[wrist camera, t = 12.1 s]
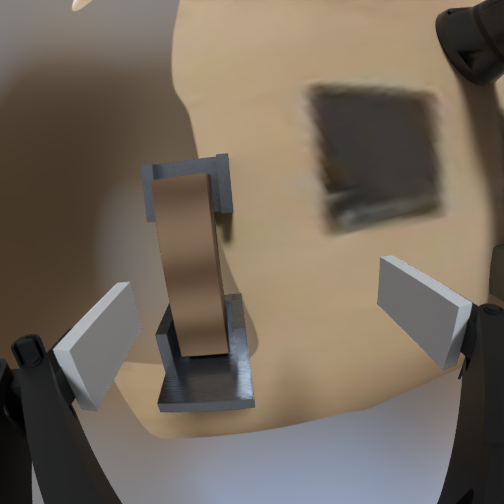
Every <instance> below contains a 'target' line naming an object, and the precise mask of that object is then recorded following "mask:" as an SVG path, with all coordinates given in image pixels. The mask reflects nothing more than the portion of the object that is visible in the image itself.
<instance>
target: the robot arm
mask: <svg viewBox="0 0 504 504" xmlns="http://www.w3.org/2000/svg"><path fill="white" fill-rule="evenodd" d="M436 30H437V34H438V37H439V40H440V42H441V44H442V46H443V48H444V50H445V52H446V54H447V55H448V57H449V58H450V60H451V61H452V63H453V64H454V65H455V67H456V68H457V69H458V70H459V71H460V72H461V73H462V74H463V75H464V76H465V77H466V78H467V79H468V80H470V81H471V82H473V83H475V84H477V85H488V84H491V83H494V82H495V81H497V80H498V79H499V78H500V77H501V76H502V75H503V74H504V0H485V1H483V2H481V3H480V4H478V5H476V6H474V7H463V8H452V9H448V10H445V11H444V12H442V13H441V14H439V15H438V17H437V19H436ZM377 304H378V305H379V306H380V307H381V308H382V309H383V310H384V311H385V312H386V313H387V314H388V315H389V316H390V317H391V318H392V319H393V320H394V321H395V322H396V323H397V324H398V325H399V326H400V327H401V328H402V329H403V330H404V331H405V332H406V333H407V334H408V335H409V336H410V337H411V338H412V339H413V340H414V341H415V342H416V343H417V344H418V345H419V346H420V347H421V348H422V349H423V350H424V351H425V352H426V353H427V354H428V355H429V356H430V357H431V358H432V359H433V360H434V361H435V362H436V363H437V364H438V365H439V366H440V367H441V368H442V369H443V370H444V369H447V368H449V367H452V366H454V365H456V364H457V361H458V358H459V355H460V352H462V353H463V354H464V355H465V360H464V363H463V366H462V369H461V371H460V374H459V377H458V379H460V378H461V376H462V387H461V399H460V407H459V415H458V422H457V428H456V434H455V439H454V444H453V449H452V454H451V458H450V463H449V467H448V471H447V475H446V478H445V482H444V485H443V489H442V492H441V495H440V498H439V501H438V503H437V504H504V309H503V308H501V307H499V306H497V305H494V304H483V305H480V306H477V305H476V304H474V303H472V302H471V301H469V300H468V299H466V298H464V297H463V296H461V295H460V294H457V293H456V292H455V291H453V290H451V289H449V288H447V287H446V286H444V285H442V284H441V283H439V282H437V281H436V280H434V279H432V278H431V277H429V276H427V275H426V274H424V273H422V272H420V271H419V270H417V269H415V268H413V267H412V266H410V265H408V264H406V263H405V262H403V261H401V260H399V259H398V258H396V257H394V256H392V255H391V256H383V257H380V271H379V288H378V301H377ZM141 329H142V328H141V324H140V321H139V317H138V313H137V309H136V305H135V300H134V296H133V292H132V288H131V283H130V282H124V283H123V282H122V283H117V284H116V285H115V286H114V287H113V288H112V289H111V290H110V291H109V292H108V293H107V294H106V295H105V296H104V297H103V298H102V299H101V300H100V301H99V302H98V303H97V304H96V305H95V306H94V307H93V308H92V309H91V310H90V311H89V312H88V313H87V314H86V315H85V316H84V317H83V318H82V319H81V320H80V321H79V322H78V323H77V324H76V325H75V326H74V327H72V328H71V329H69V330H68V331H67V332H66V333H65V334H64V335H63V336H62V337H61V338H60V339H59V340H58V342H56V343H55V345H54V346H53V347H52V348H51V349H50V350H49V351H48V352H47V353H46V351H45V348H44V346H43V343H42V341H41V338H40V337H39V335H36V334H30V335H25V336H23V337H21V338H19V339H17V340H16V341H15V342H14V343H13V344H12V345H11V349H12V352H13V354H14V356H15V358H16V361H17V363H18V365H19V367H20V369H10V368H9V366H8V364H7V362H6V360H5V359H0V504H32V462H33V466H34V470H35V474H36V478H37V481H38V485H39V488H40V491H41V495H42V498H43V501H44V504H122V503H121V501H120V499H119V498H118V496H117V495H116V493H115V491H114V490H113V488H112V486H111V485H110V483H109V481H108V479H107V478H106V476H105V474H104V472H103V470H102V468H101V467H100V465H99V463H98V461H97V459H96V457H95V455H94V453H93V451H92V449H91V446H90V444H89V442H88V440H87V438H86V436H85V433H84V431H83V429H82V426H81V424H80V422H79V419H78V417H77V414H76V412H75V410H74V408H73V406H72V402H73V401H74V399H75V398H76V400H77V402H78V404H79V405H80V407H81V409H85V410H91V411H98V409H99V407H100V405H101V403H102V402H103V400H104V398H105V395H106V394H107V392H108V390H109V388H110V386H111V384H112V382H113V380H114V378H115V377H116V375H117V373H118V371H119V369H120V367H121V365H122V363H123V362H124V360H125V358H126V356H127V354H128V352H129V351H130V349H131V347H132V345H133V343H134V342H135V340H136V338H137V336H138V335H139V333H140V331H141ZM5 413H6V414H5Z"/></svg>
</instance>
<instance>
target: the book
mask: <svg viewBox="0 0 504 504" xmlns="http://www.w3.org/2000/svg"><path fill="white" fill-rule="evenodd" d="M490 294H492V295H494V296H496V297H497V298H499V299H501V300H503V301H504V244H502V245H499V246H496V247H494V249H493V255H492V260H491V267H490Z"/></svg>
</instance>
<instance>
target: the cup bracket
mask: <svg viewBox="0 0 504 504" xmlns="http://www.w3.org/2000/svg"><path fill="white" fill-rule="evenodd" d="M224 298H225V306H226V313H227V320H228V338H229V353H224V354H212V355H199V356H183V357H182V355H181V351H180V347H179V342H178V338H177V334H176V329H175V325H174V320H173V316H172V311H171V306H170V303H169V305H168V307H167V309H166V312H165V314H164V316H163V318H162V321H161V323H160V325H159V327H158V330H157V332H156V334H155V336H156V340H157V344H158V347H159V351H160V355H161V358H162V361H163V365H164V368H165V372H166V374H165V377H164V381H163V385H162V388H161V392H160V395H159V399H158V403H157V404H158V407H159V409H160V412H204V411H222V410H235V409H246V408H255V401H254V393H253V386H252V378H251V370H250V362H249V353H248V344H247V336H246V327H245V319H244V311H243V302H242V294H241V293H240V294H230V295H224Z"/></svg>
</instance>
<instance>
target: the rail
mask: <svg viewBox="0 0 504 504" xmlns="http://www.w3.org/2000/svg"><path fill="white" fill-rule="evenodd" d="M151 186H152V195H153V203H154V211H155V219H156V226H157V232H158V240H159V245H160V252H161V258H162V264H163V270H164V275H165V281H166V286H167V291H168V297H169V301H170V306H171V311H172V316H173V320H174V325H175V329H176V334H177V338H178V342H179V347H180V351H181V355H182V357H183V356H199V355H212V354H224V353H229V338H228V320H227V313H226V306H225V298H224V291H223V284H222V276H221V269H220V260H219V251H218V244H217V236H216V235H217V234H216V226H215V217H214V208H213V198H212V188H211V178H210V174H207V173H200V174H193V175H185V176H178V177H171V178H164V179H157V180H151Z"/></svg>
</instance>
